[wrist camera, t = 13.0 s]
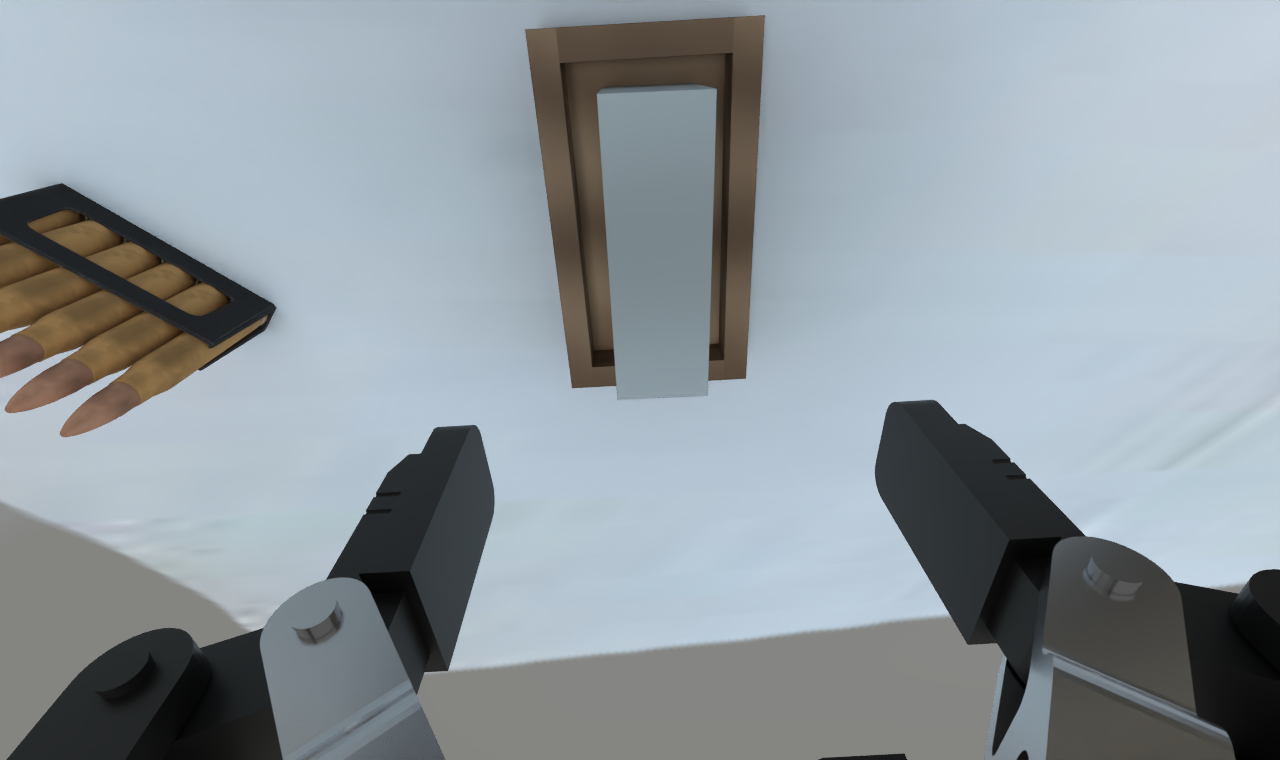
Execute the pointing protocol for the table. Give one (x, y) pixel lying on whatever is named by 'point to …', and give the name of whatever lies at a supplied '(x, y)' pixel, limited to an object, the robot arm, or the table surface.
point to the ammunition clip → (108, 306)
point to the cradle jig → (571, 157)
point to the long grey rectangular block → (659, 234)
